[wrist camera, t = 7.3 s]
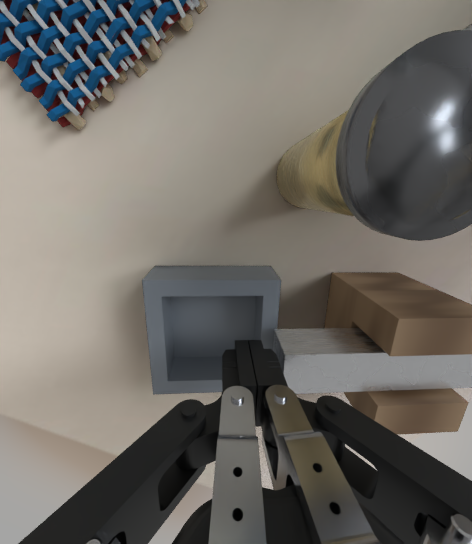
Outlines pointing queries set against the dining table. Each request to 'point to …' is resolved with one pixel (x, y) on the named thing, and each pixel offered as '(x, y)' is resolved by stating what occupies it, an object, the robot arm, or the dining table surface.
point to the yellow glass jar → (396, 147)
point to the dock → (205, 320)
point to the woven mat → (84, 46)
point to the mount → (404, 343)
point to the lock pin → (360, 364)
